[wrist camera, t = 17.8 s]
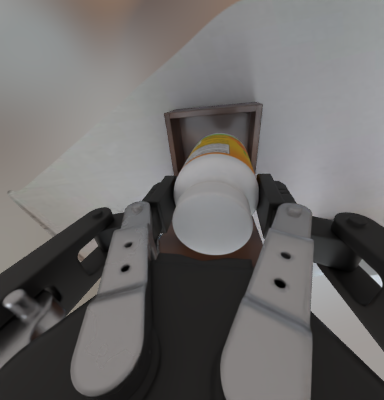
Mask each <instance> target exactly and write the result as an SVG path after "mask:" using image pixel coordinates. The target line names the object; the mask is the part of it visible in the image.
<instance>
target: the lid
mask: <svg viewBox="0 0 384 400" xmlns="http://www.w3.org/2000/svg"><path fill="white" fill-rule="evenodd" d="M252 220H253V230H252V234H251V237H250V239H249V240H248V241H247V243H246V244H245V245H244V246H242V247H241V248H240V249H238V250H236V251H234V252H232V253H228V254H223V255H208V254H203V253H200V252H197V251H194V250H192V249H190V248H189V247H187V246H186V245H185V244H183V243H182V242H181V241H180V240H179V238H178V237H177V235H176V234H175V232H174V229H173V224H172V222H171V224H170V226H169V229H168V231H167V233H163V235H162V236H161V238H160V239H159V241H160V253H171V254H181V255H184V256H187V257H191V258H194V259H197V260H200V261H206V260H213V259H221V258H239V259H252V265H253V268H255V266H256V263H257V260H258V258H259V255H260V252H261V249H262V246H263V244H262V241H261V238H260V235H259V233H258V230H257V227H256V225H255V222H254V219H253V216H252Z"/></svg>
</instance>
